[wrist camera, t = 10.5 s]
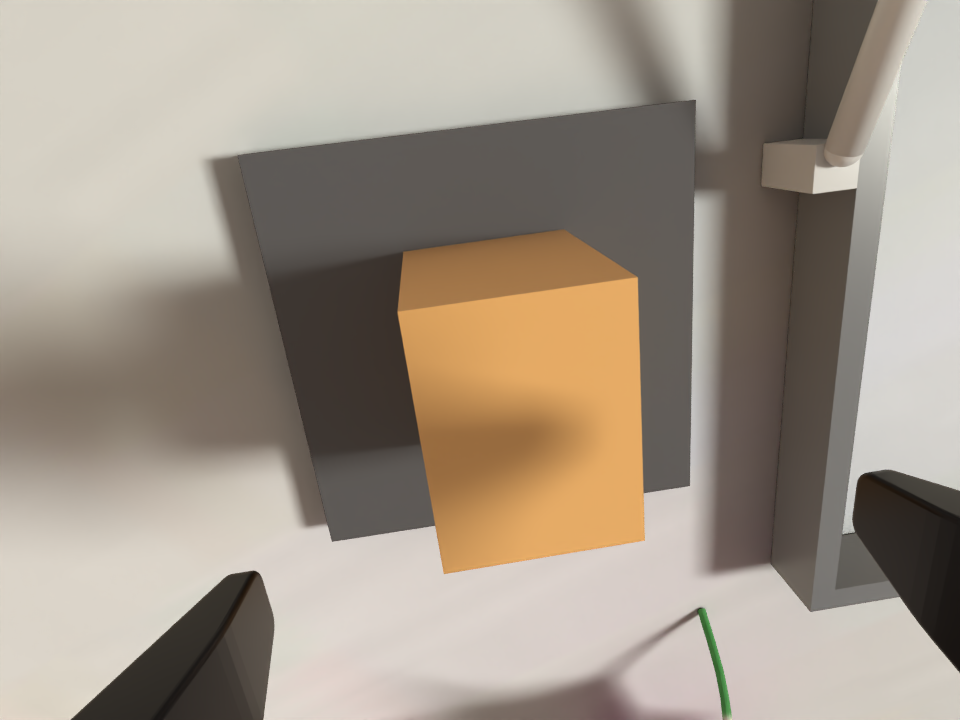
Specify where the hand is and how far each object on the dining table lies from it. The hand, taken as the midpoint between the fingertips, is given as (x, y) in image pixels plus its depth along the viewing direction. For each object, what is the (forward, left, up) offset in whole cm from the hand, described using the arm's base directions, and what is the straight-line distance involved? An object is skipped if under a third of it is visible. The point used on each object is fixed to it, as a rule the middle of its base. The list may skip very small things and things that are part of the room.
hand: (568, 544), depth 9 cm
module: (0, 0, -10) cm, 10 cm away
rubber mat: (0, 0, -11) cm, 11 cm away
